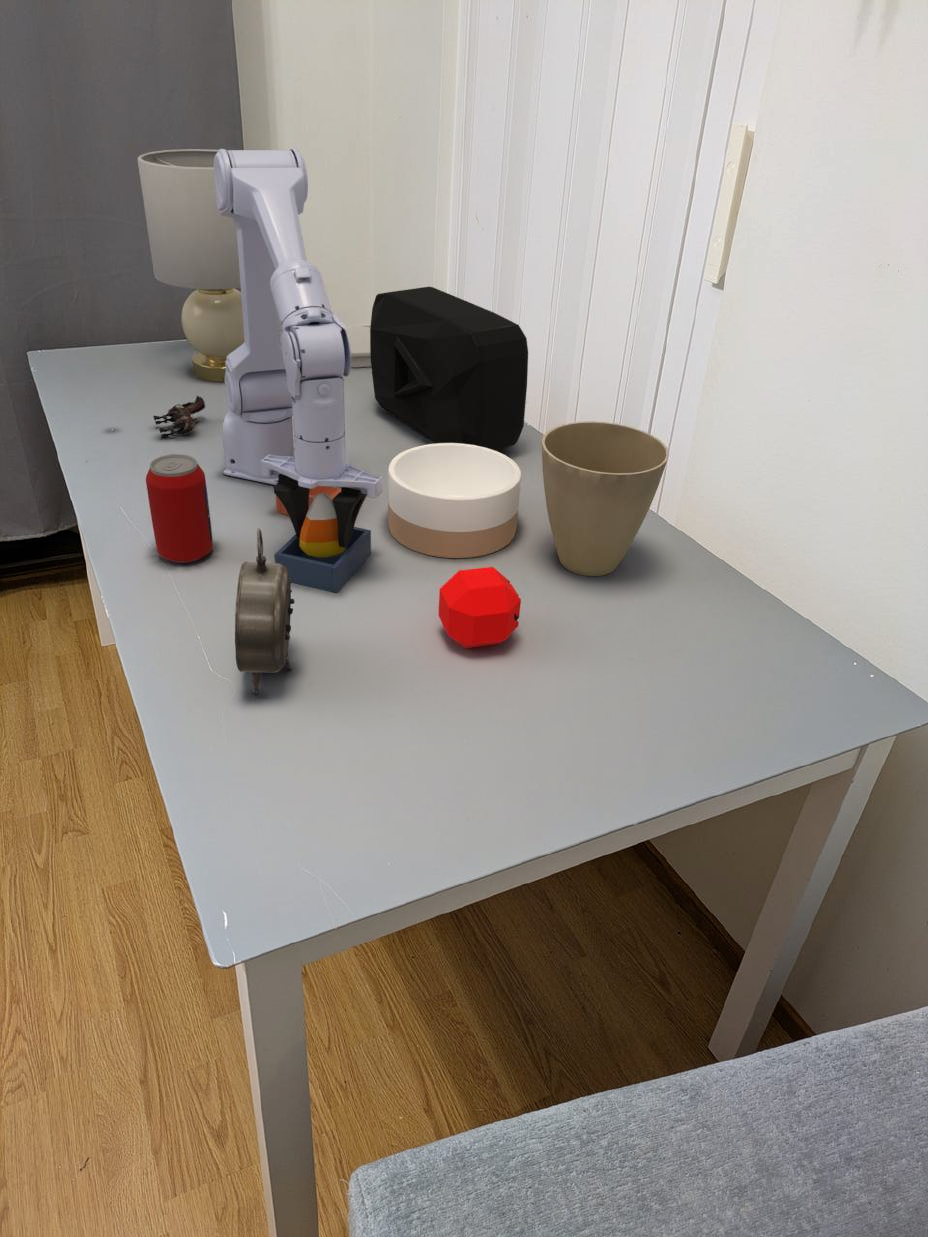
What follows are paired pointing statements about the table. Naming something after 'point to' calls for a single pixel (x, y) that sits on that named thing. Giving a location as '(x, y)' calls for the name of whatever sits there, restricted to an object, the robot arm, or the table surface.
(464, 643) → the ball
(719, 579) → the table surface
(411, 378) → the black hard case
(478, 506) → the bowl
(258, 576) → the alarm clock
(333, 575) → the slate bin
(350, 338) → the lid
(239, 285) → the lamp
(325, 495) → the candy corn
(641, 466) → the plant pot
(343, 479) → the robot arm
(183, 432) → the horse figurine
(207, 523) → the beverage can
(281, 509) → the terracotta bin
